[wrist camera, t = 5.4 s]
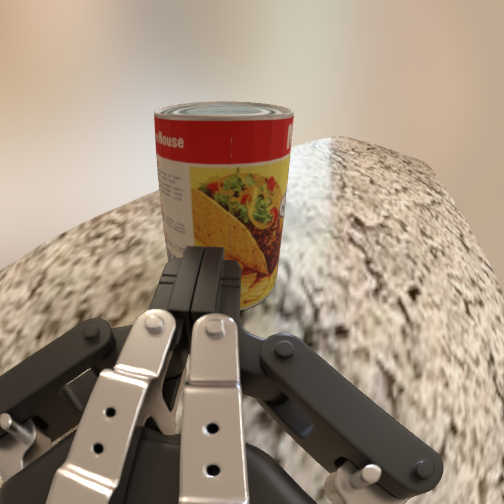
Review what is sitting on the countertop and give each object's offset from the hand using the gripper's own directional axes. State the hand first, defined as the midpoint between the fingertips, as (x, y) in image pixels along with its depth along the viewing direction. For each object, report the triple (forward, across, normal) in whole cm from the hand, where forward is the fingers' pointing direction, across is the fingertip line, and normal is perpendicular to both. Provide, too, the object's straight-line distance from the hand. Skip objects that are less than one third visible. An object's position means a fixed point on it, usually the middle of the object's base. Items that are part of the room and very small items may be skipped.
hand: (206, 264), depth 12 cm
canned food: (+7, 0, +7) cm, 10 cm away
